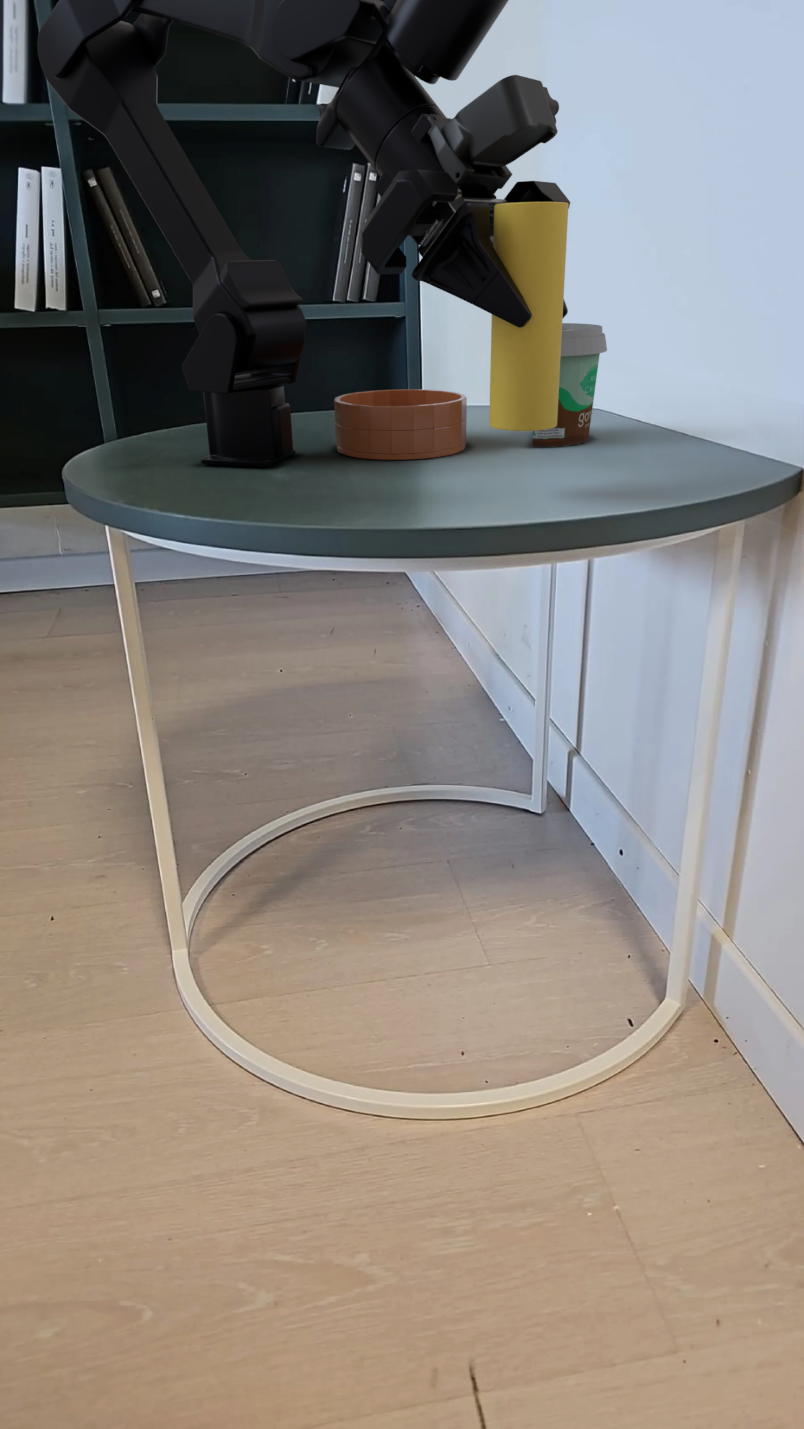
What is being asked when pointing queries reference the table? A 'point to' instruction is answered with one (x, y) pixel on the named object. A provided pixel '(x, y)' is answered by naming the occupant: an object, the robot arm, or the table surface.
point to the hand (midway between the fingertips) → (544, 320)
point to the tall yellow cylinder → (531, 352)
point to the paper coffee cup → (575, 385)
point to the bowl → (400, 424)
